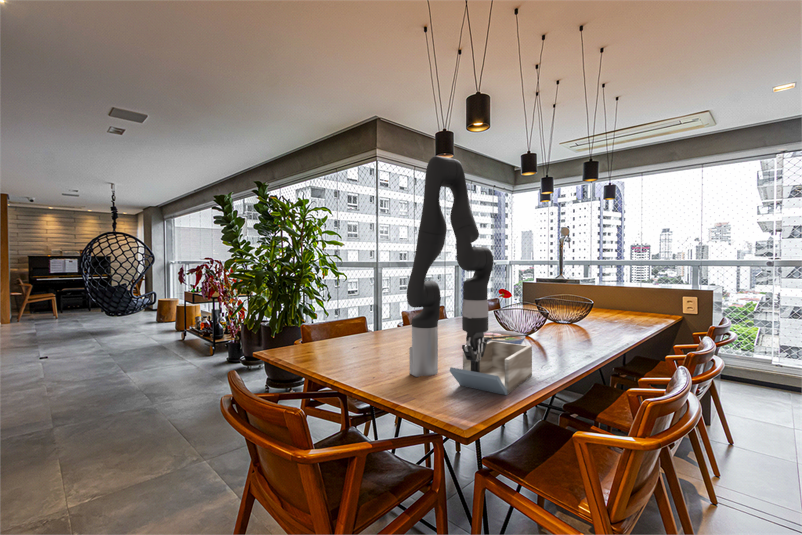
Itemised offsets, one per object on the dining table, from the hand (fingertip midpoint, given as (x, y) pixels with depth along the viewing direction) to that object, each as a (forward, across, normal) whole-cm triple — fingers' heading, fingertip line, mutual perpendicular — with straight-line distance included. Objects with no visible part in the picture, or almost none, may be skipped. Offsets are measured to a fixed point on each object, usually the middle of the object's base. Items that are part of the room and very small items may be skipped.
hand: (475, 373), depth 111 cm
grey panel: (+6, -5, 0) cm, 8 cm away
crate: (+7, -17, 0) cm, 19 cm away
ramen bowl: (+8, -58, -16) cm, 61 cm away
